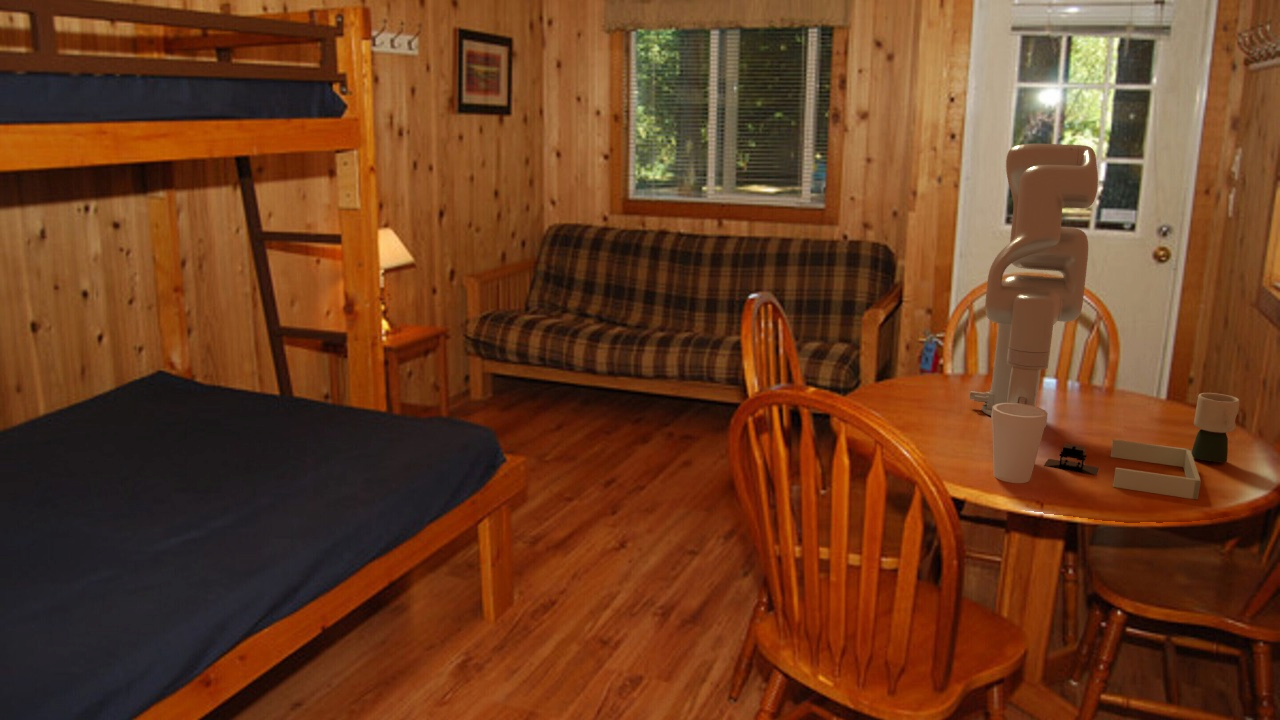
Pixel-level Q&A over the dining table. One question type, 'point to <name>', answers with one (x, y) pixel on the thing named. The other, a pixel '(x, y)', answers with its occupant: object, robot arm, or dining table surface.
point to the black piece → (1072, 452)
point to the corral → (1155, 481)
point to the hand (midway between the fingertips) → (1017, 449)
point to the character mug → (1214, 425)
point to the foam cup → (1016, 440)
